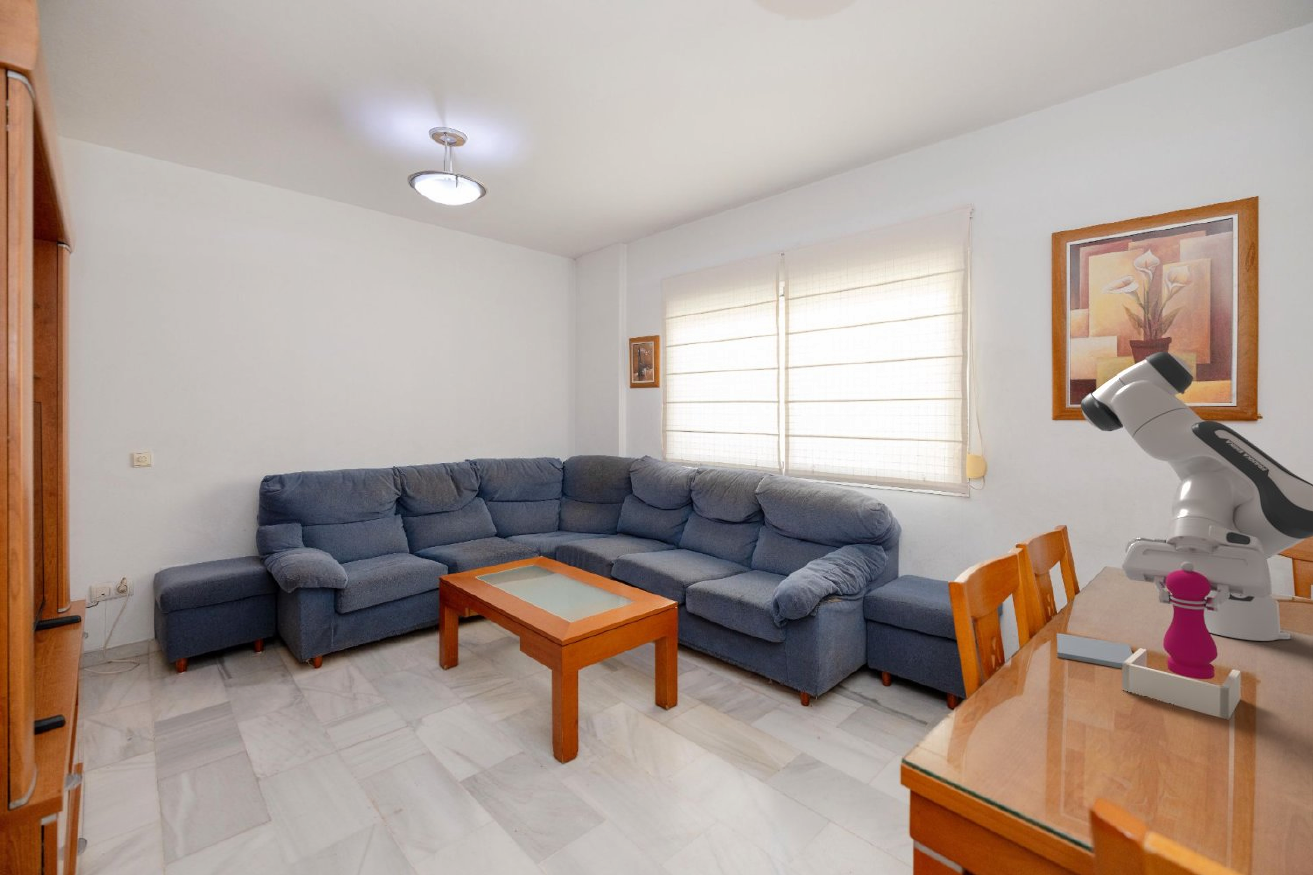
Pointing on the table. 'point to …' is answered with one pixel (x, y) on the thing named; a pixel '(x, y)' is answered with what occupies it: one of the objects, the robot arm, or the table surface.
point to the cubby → (1181, 687)
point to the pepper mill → (1189, 625)
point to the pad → (1092, 650)
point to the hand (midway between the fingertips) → (1187, 605)
